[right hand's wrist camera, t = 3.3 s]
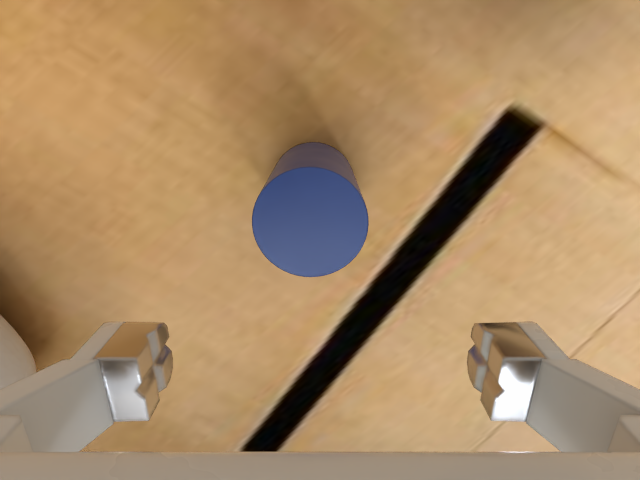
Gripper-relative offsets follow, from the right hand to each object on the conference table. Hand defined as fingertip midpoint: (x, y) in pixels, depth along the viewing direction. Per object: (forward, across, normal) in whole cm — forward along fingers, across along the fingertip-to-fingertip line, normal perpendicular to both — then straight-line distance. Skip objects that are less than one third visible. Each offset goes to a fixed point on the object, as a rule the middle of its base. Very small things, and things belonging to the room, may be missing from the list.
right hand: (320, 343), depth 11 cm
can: (+14, 0, -1) cm, 14 cm away
